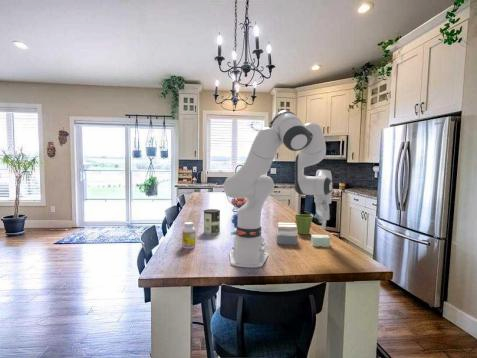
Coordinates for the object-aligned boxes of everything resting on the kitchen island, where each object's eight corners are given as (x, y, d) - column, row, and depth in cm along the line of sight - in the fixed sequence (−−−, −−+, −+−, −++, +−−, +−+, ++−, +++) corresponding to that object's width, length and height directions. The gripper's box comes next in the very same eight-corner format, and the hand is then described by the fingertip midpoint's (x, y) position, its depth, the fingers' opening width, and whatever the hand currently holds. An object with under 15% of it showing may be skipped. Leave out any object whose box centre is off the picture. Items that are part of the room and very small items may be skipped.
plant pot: (315, 232, 172) (316, 215, 172) (309, 236, 163) (309, 218, 162) (298, 229, 179) (298, 213, 178) (290, 233, 169) (291, 216, 168)
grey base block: (296, 245, 147) (297, 236, 147) (276, 244, 148) (276, 235, 148) (295, 239, 158) (295, 231, 158) (276, 238, 159) (276, 230, 159)
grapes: (232, 232, 170) (232, 214, 169) (231, 230, 177) (231, 212, 176) (250, 232, 172) (250, 213, 171) (248, 229, 178) (249, 211, 177)
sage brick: (329, 247, 144) (330, 238, 144) (312, 246, 145) (312, 237, 145) (327, 243, 150) (327, 235, 150) (310, 243, 151) (311, 234, 150)
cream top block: (296, 236, 147) (296, 227, 147) (278, 235, 148) (278, 226, 148) (294, 231, 157) (295, 223, 157) (277, 230, 158) (277, 222, 158)
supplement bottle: (179, 246, 141) (179, 222, 140) (190, 244, 146) (190, 220, 145) (187, 250, 136) (187, 225, 135) (197, 247, 141) (197, 223, 140)
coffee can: (220, 230, 175) (220, 209, 174) (219, 234, 165) (219, 212, 164) (204, 230, 175) (204, 208, 174) (202, 234, 165) (202, 211, 164)
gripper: (333, 202, 134) (332, 229, 135) (325, 197, 154) (324, 220, 155) (320, 202, 135) (319, 229, 136) (314, 196, 155) (313, 220, 156)
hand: (322, 224), depth 146 cm, fingers open, 8 cm apart
